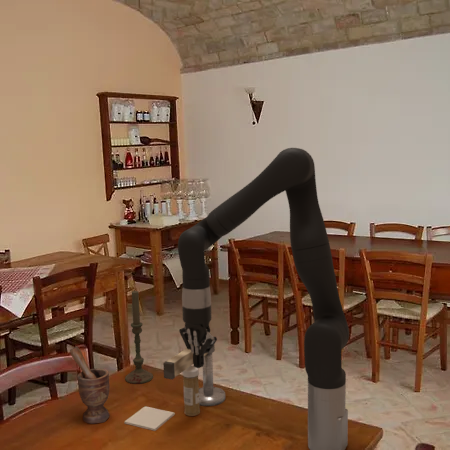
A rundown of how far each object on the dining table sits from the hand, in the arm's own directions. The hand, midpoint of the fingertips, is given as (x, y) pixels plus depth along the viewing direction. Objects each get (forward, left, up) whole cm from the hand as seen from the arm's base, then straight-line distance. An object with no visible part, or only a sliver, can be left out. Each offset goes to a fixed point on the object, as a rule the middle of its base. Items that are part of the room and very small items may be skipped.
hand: (198, 366), depth 152 cm
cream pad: (+16, +1, -18) cm, 24 cm away
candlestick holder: (+35, -21, -18) cm, 44 cm away
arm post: (+7, -17, -18) cm, 26 cm away
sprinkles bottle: (+7, -7, -18) cm, 20 cm away
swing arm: (+7, -7, -3) cm, 10 cm away
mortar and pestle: (+32, +7, -18) cm, 37 cm away
